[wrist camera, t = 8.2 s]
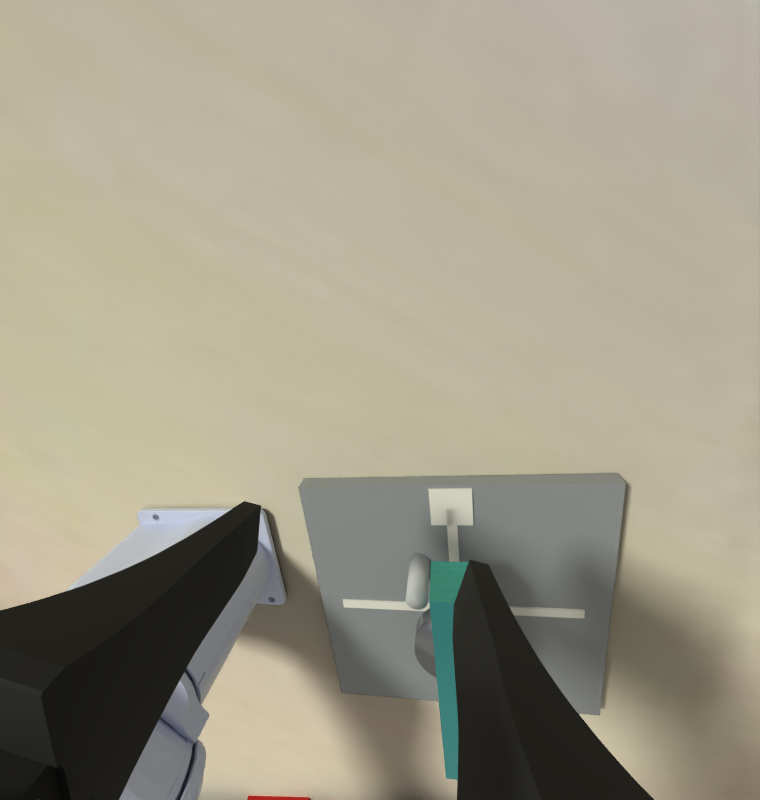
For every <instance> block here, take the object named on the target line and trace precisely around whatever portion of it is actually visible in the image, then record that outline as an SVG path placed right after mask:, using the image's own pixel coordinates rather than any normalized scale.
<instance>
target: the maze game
mask: <svg viewBox="0 0 760 800" xmlns="http://www.w3.org/2000/svg"><path fill="white" fill-rule="evenodd" d="M247 800H310V798H308V797H272V796H248V799H247Z"/></svg>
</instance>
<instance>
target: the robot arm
mask: <svg viewBox="0 0 760 800" xmlns="http://www.w3.org/2000/svg"><path fill="white" fill-rule="evenodd" d="M137 516H138V520H139V522H140V525H139V526H138V527H137V528H136V529H135V530H134V531H132V532H131V533H130V534H129V535H128V536H127V537H126V538H124V539H123V540H122V541H121V542H120V543H119V544H118V545H116V546H115V547H114V548H113V549H112V550H111V551H110V552H109V553H107V554H106V555H105V556H104V557H103V558H102V559H101V560H99V561H98V562H97V563H96V564H95V565H94V566H93V567H91V568H90V569H89V570H88V571H87V572H86V573H85V574H83V575H82V576H81V577H80V578H79V579H78V580H77V581H76V582H74V583H73V584H72V585H71V586H70V587H69V588H68V589H67V590H66V591H65V592H63V593H60V594H56V595H53V596H50V597H47V598H44V599H41V600H37V601H34V602H31V603H27V604H23V605H19V606H16V607H12V608H8V609H5V610H1V611H0V800H198V798H199V795H200V791H201V787H202V783H203V775H204V768H205V760H206V751H205V747H204V745H203V743H202V742H201V741H199V740H198V737H199V735H200V733H201V731H202V729H203V727H204V725H205V723H206V721H207V719H208V717H209V713H208V712H207V711H206V710H205V709H204V708H203V707H202V706H201V705H202V703H203V701H204V699H205V698H206V696H207V694H208V692H209V690H210V688H211V687H212V685H213V683H214V681H215V679H216V677H217V675H218V674H219V672H220V670H221V668H222V666H223V664H224V662H225V661H226V659H227V657H228V655H229V653H230V651H231V650H232V648H233V646H234V644H235V642H236V640H237V638H238V637H239V635H240V633H241V631H242V629H243V627H244V626H245V624H246V622H247V620H248V618H249V616H250V614H251V613H252V611H253V609H254V607H255V605H256V604H266V605H283V604H284V603H285V601H286V599H287V596H286V592H285V588H284V584H283V580H282V576H281V572H280V568H279V564H278V560H277V556H276V551H275V547H274V543H273V539H272V535H271V531H270V527H269V523H268V519H267V515H266V513H265V511H264V510H262V509H261V506H260V505H256V504H253V503H249V502H245V501H244V502H242V503H241V504H239V505H237V506H236V507H234V508H144V509H142V510H141V511H139V512H138V514H137ZM272 597H273V598H272ZM452 638H453V654H454V669H455V683H456V698H457V712H458V788H457V800H654V799H653V798H652V797H651V796H650V795H649V794H648V793H647V792H646V791H645V790H644V789H643V788H642V787H641V786H640V785H639V784H638V783H637V782H636V781H635V780H634V778H633V777H632V776H631V775H630V774H629V773H628V772H627V771H626V770H625V769H624V767H623V766H622V765H621V764H620V763H619V762H618V761H617V760H616V758H615V757H614V756H613V755H612V754H611V753H610V752H609V751H608V749H607V748H606V747H605V746H604V745H603V744H602V742H601V741H600V740H599V739H598V738H597V736H596V735H595V734H594V733H593V732H592V730H591V729H590V728H589V727H588V725H587V724H586V723H585V722H584V720H583V719H582V718H581V717H580V715H579V714H578V713H577V712H576V710H575V709H574V708H573V706H572V705H571V704H570V702H569V701H568V700H567V698H566V697H565V696H564V694H563V693H562V692H561V690H560V689H559V687H558V686H557V685H556V683H555V682H554V680H553V679H552V677H551V676H550V675H549V673H548V672H547V670H546V669H545V667H544V666H543V664H542V662H541V661H540V659H539V658H538V656H537V654H536V653H535V651H534V650H533V648H532V646H531V645H530V643H529V641H528V640H527V638H526V636H525V634H524V633H523V631H522V629H521V627H520V625H519V624H518V622H517V620H516V618H515V616H514V615H513V613H512V611H511V609H510V607H509V605H508V603H507V601H506V599H505V597H504V595H503V593H502V591H501V589H500V587H499V585H498V583H497V581H496V579H495V577H494V575H493V572H492V570H491V568H490V567H489V565H488V564H485V563H481V562H477V561H474V560H469V562H468V565H467V568H466V571H465V574H464V577H463V580H462V583H461V585H460V588H459V591H458V594H457V597H456V600H455V603H454V611H453V636H452Z"/></svg>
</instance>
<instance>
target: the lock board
mask: <svg viewBox="0 0 760 800" xmlns="http://www.w3.org/2000/svg"><path fill="white" fill-rule="evenodd" d="M625 487H626V483H625V481H624V480H623V479H622V478H621V476H620V475H619V474H618V473H599V474H541V475H484V476H426V477H368V478H311V479H303V481H302V483H301V484H300V486H299V487H298V488H299V493H300V497H301V502H302V507H303V512H304V516H305V521H306V526H307V531H308V535H309V540H310V545H311V550H312V554H313V559H314V564H315V569H316V573H317V578H318V583H319V587H320V592H321V597H322V602H323V606H324V611H325V616H326V621H327V625H328V630H329V635H330V640H331V644H332V649H333V654H334V659H335V663H336V668H337V673H338V678H339V682H340V687H341V692H342V693H351V694H363V695H374V696H385V697H397V698H408V699H419V700H431V701H439V697H438V687H437V678H436V677H434V676H432V675H431V674H429V673H428V672H427V671H426V670H425V669H424V668H423V667H422V666H421V665H420V663H419V662H418V660H417V658H416V655H415V634H416V625H417V622H418V619H419V618H420V616H421V615H422V614H423V613H424V612H425V611H426V610H428V609H429V608H430V603H429V597H430V573H431V561H450V562H469V560H474V561H477V562H481V563H485V564H488V565H489V567H490V568H491V570H492V572H493V575H494V577H495V579H496V581H497V583H498V585H499V587H500V589H501V591H502V593H503V595H504V597H505V599H506V601H507V603H508V605H509V607H510V609H511V611H512V613H513V615H514V616H515V618H516V620H517V622H518V624H519V625H520V627H521V629H522V631H523V633H524V634H525V636H526V638H527V640H528V641H529V643H530V645H531V646H532V648H533V650H534V651H535V653H536V654H537V656H538V658H539V659H540V661H541V662H542V664H543V666H544V667H545V669H546V670H547V672H548V673H549V675H550V676H551V677H552V679H553V680H554V682H555V683H556V685H557V686H558V687H559V689H560V690H561V692H562V693H563V694H564V696H565V697H566V698H567V700H568V701H569V702H570V704H571V705H572V706H573V708H574V709H575V710H576V712H577V713H578V714H589V715H600V709H601V700H602V691H603V682H604V673H605V664H606V656H607V647H608V638H609V629H610V620H611V611H612V602H613V593H614V585H615V576H616V567H617V558H618V549H619V540H620V531H621V522H622V513H623V505H624V496H625Z"/></svg>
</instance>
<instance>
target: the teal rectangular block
mask: <svg viewBox="0 0 760 800" xmlns="http://www.w3.org/2000/svg"><path fill="white" fill-rule="evenodd" d="M467 565H468V562H450V561H431V573H430V597H429V603H430V608H429V609H428V610H426V611H425V612H424V613H423V614H422V615H421V616H420V618H419V619H418V622H417V625H416V634H415V655H416V658H417V660H418V662H419V663H420V665H421V666H422V667H423V668H424V669H425V670H426V671H427V672H428V673H429V674H431V675H432V676H434V677H436V678H437V687H438V697H439V708H440V718H441V729H442V739H443V749H444V760H445V770H446V778H448V779H457V780H458V712H457V698H456V683H455V669H454V654H453V638H452V636H453V611H454V603H455V600H456V597H457V594H458V591H459V588H460V585H461V583H462V580H463V577H464V574H465V571H466V568H467Z"/></svg>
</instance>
